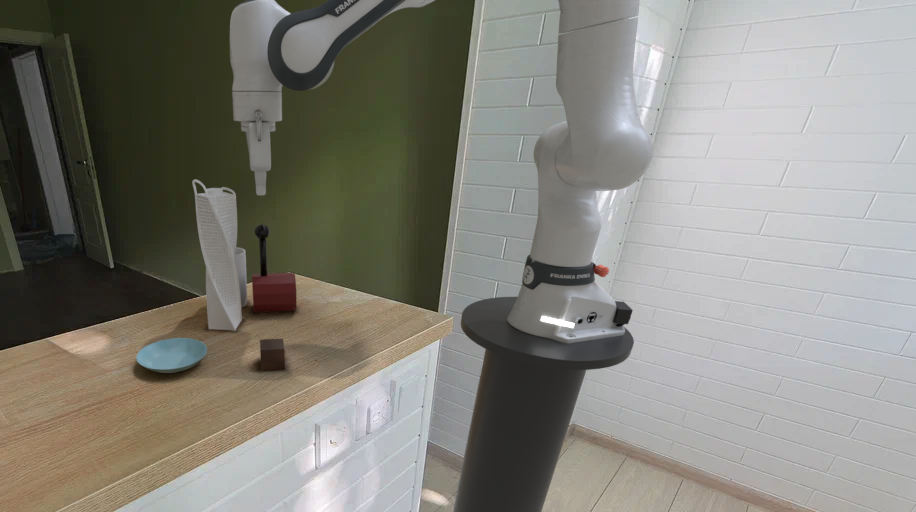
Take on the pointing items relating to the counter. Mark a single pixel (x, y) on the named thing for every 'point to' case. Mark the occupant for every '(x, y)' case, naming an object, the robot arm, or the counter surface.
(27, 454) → the counter surface
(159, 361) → the saucer
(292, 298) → the pot
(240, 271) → the mug
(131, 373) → the counter surface
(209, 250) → the skyscraper
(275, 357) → the block
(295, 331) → the counter surface
